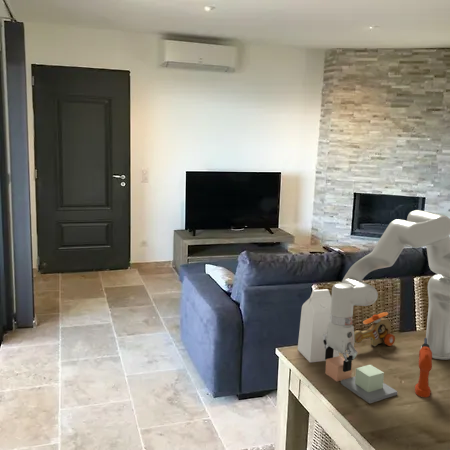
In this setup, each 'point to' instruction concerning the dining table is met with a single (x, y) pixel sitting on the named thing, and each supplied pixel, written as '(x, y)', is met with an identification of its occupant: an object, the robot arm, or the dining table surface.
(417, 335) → the dining table surface
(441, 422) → the dining table surface
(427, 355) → the toy drill
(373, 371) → the sage block
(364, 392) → the gray plate
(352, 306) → the robot arm
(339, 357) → the terracotta block
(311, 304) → the milk
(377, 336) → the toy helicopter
